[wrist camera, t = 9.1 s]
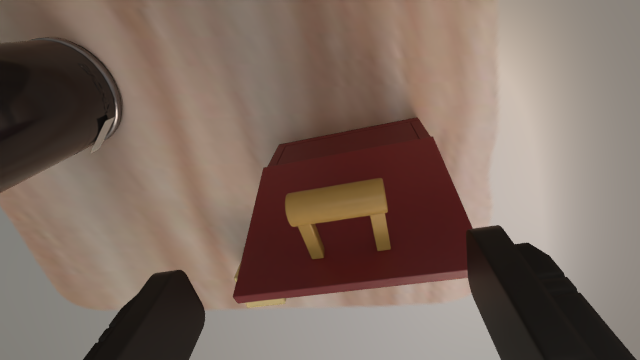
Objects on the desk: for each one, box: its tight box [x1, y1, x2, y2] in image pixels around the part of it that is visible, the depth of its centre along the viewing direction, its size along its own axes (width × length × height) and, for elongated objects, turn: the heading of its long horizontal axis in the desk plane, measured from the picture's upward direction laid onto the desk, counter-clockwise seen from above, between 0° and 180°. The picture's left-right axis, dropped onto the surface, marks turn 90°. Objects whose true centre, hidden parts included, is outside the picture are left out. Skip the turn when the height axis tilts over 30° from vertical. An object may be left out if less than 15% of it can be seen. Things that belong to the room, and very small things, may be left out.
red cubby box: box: [268, 118, 430, 167], centre depth 29 cm, size 10×13×5 cm
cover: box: [233, 137, 473, 303], centre depth 19 cm, size 11×13×5 cm
